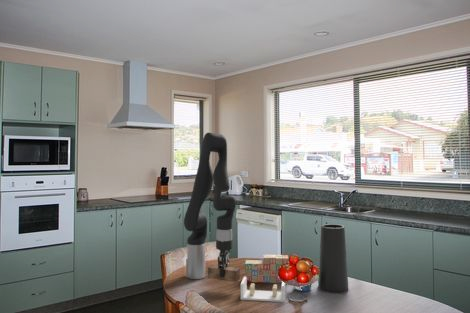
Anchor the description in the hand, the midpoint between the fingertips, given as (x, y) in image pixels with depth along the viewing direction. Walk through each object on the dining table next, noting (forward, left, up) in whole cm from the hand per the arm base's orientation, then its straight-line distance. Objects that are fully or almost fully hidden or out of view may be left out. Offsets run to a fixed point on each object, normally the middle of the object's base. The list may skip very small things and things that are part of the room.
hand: (223, 274), depth 174 cm
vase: (+50, +11, -7) cm, 52 cm away
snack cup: (+36, +7, -7) cm, 37 cm away
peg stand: (+19, -5, -7) cm, 21 cm away
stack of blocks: (+18, +17, -8) cm, 26 cm away
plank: (0, 0, -2) cm, 2 cm away
